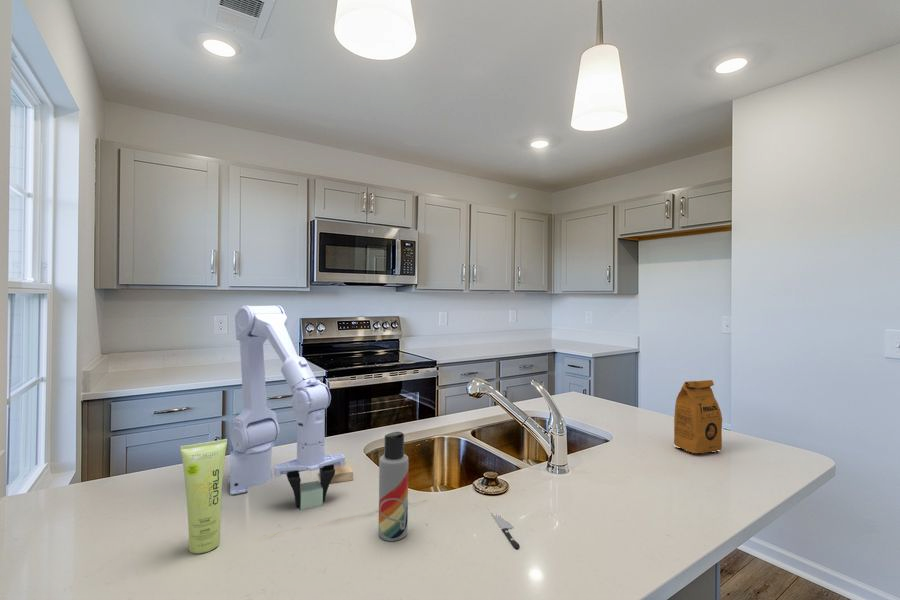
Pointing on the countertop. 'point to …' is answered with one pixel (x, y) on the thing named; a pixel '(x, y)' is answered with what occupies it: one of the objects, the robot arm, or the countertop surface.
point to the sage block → (311, 495)
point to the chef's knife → (506, 529)
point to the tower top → (342, 473)
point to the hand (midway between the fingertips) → (310, 502)
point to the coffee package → (697, 418)
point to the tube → (204, 492)
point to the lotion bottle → (393, 489)
